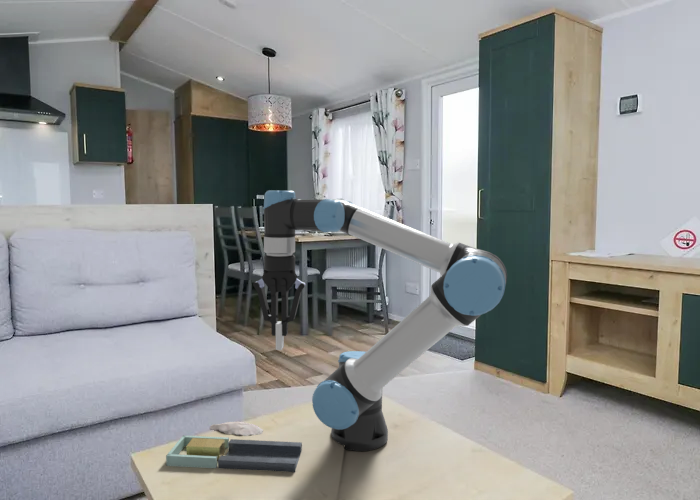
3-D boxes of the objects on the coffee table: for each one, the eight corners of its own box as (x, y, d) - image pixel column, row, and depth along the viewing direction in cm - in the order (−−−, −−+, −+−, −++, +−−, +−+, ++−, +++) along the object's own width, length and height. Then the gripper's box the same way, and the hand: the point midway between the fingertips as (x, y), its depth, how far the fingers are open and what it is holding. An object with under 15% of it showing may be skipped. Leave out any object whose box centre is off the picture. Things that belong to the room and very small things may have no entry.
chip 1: (208, 454, 124) (208, 438, 123) (203, 462, 120) (202, 446, 119) (192, 453, 124) (192, 438, 124) (186, 461, 120) (186, 446, 120)
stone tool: (204, 438, 133) (260, 444, 132) (204, 427, 132) (260, 433, 132) (214, 423, 141) (266, 428, 140) (214, 413, 140) (267, 418, 140)
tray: (228, 450, 127) (228, 437, 126) (215, 472, 117) (215, 458, 116) (183, 448, 127) (182, 435, 127) (166, 469, 117) (166, 455, 117)
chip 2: (224, 455, 124) (224, 439, 123) (219, 463, 120) (219, 447, 119) (208, 454, 124) (208, 438, 123) (203, 462, 120) (202, 446, 119)
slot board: (301, 453, 125) (301, 442, 125) (294, 476, 116) (294, 463, 115) (230, 450, 127) (230, 439, 126) (218, 472, 117) (217, 459, 116)
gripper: (308, 252, 126) (307, 344, 128) (257, 251, 126) (257, 343, 129) (303, 256, 118) (303, 353, 121) (249, 255, 119) (250, 352, 121)
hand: (279, 348), depth 125 cm, fingers closed
